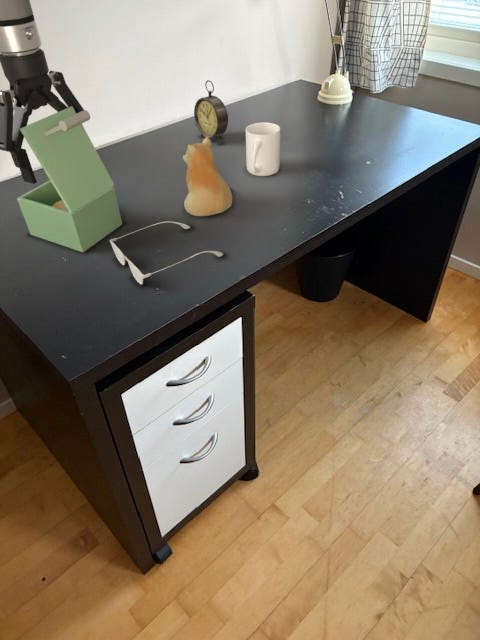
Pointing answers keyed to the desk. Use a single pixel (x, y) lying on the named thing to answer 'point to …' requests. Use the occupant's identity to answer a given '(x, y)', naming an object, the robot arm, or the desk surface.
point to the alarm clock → (211, 116)
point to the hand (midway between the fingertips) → (56, 168)
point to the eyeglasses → (134, 269)
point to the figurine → (204, 182)
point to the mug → (263, 148)
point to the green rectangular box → (69, 217)
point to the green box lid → (68, 157)
